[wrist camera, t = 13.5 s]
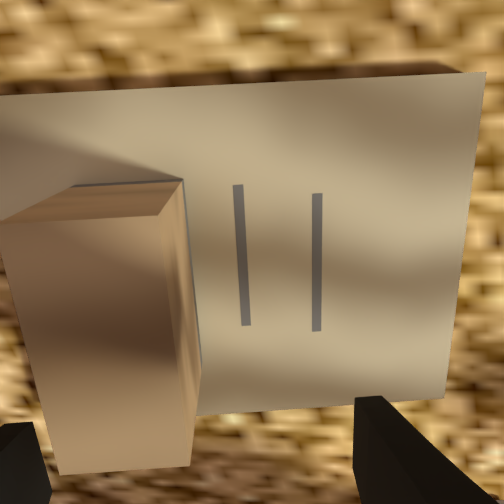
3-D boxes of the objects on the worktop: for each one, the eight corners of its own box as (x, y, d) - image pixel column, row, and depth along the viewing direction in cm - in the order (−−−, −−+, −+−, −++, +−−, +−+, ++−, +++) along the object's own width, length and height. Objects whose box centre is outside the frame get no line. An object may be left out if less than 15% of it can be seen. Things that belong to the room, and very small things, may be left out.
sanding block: (202, 362, 18) (189, 465, 13) (110, 368, 18) (59, 475, 13) (183, 178, 15) (157, 215, 10) (75, 184, 15) (-7, 224, 10)
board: (432, 382, 20) (444, 398, 19) (63, 407, 20) (53, 426, 19) (468, 74, 16) (486, 71, 15) (-12, 98, 15) (-32, 97, 14)
